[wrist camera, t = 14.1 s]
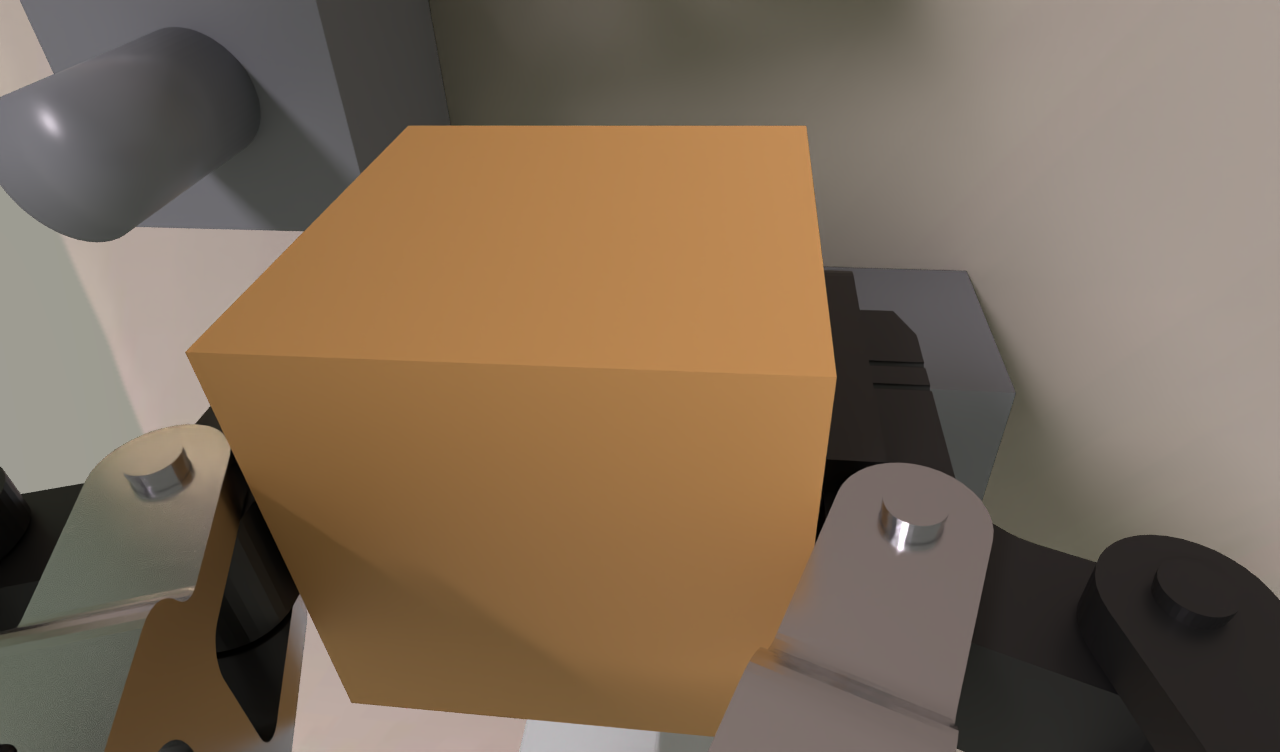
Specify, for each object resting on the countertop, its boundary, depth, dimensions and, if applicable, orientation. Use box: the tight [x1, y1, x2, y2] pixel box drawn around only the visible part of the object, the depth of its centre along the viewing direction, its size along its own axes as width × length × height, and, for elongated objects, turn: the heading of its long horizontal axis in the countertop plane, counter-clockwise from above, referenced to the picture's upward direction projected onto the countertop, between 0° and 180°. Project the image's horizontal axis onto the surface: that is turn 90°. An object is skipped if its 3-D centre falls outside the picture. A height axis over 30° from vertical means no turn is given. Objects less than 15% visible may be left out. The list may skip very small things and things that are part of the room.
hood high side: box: [0, 0, 451, 242], centre depth 21 cm, size 8×8×12 cm
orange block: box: [185, 126, 837, 737], centre depth 9 cm, size 5×5×5 cm
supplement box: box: [519, 719, 714, 752], centre depth 35 cm, size 7×7×13 cm
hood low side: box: [823, 267, 1016, 501], centre depth 26 cm, size 8×8×12 cm
